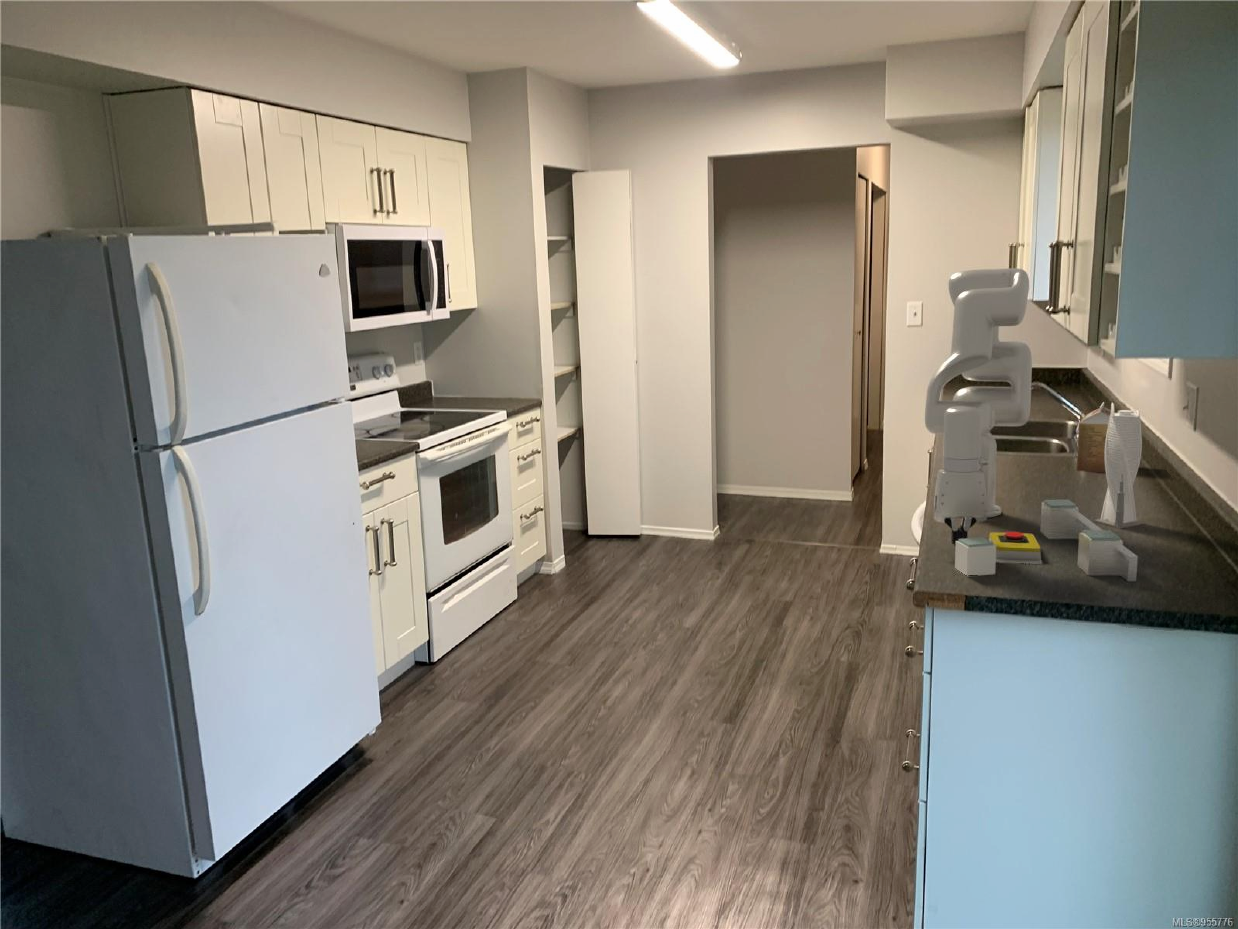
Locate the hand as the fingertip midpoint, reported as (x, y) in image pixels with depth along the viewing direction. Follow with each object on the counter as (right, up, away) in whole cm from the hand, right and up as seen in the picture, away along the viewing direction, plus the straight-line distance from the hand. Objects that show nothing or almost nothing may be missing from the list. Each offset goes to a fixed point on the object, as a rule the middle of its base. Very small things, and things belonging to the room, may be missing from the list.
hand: (959, 547), depth 196 cm
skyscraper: (+43, +4, +16) cm, 46 cm away
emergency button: (+11, -2, -2) cm, 11 cm away
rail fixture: (+25, -1, -4) cm, 25 cm away
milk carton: (+68, +17, +71) cm, 100 cm away
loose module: (-1, -4, -12) cm, 13 cm away
